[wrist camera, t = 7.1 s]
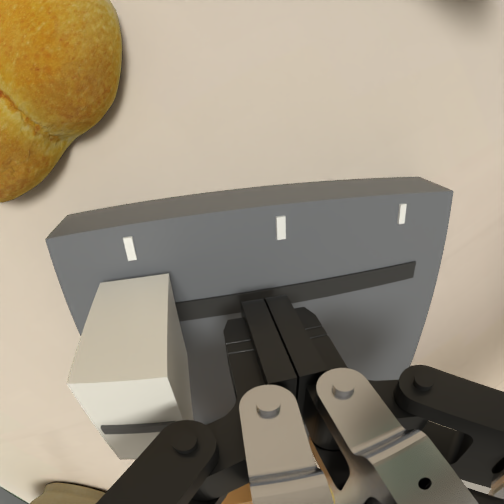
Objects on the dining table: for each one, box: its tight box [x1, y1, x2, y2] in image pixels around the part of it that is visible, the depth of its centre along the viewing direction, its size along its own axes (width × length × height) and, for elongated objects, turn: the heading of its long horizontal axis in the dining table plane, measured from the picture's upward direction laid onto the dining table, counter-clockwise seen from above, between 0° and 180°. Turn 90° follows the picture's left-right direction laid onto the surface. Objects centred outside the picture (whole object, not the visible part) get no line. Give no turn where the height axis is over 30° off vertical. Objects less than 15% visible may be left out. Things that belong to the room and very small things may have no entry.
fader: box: [67, 273, 193, 460], centre depth 9 cm, size 2×4×5 cm, turn 3°
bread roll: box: [0, 0, 122, 202], centre depth 7 cm, size 8×9×4 cm
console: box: [45, 177, 453, 437], centre depth 15 cm, size 16×16×3 cm
